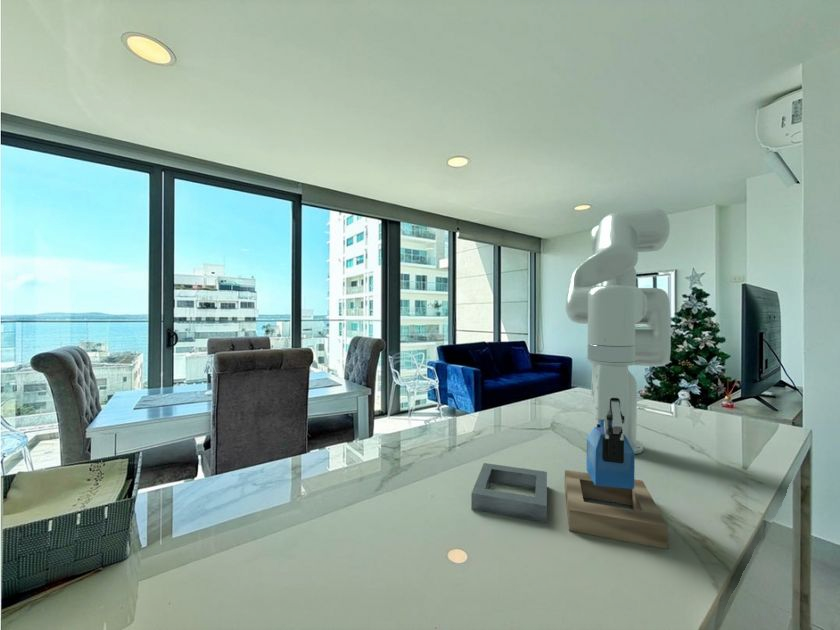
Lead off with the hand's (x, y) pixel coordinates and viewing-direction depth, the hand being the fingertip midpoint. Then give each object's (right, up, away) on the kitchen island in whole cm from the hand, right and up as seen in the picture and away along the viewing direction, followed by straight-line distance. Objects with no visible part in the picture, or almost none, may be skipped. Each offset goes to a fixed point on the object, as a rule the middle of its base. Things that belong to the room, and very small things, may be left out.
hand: (609, 452), depth 66 cm
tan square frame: (0, -11, 0) cm, 11 cm away
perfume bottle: (0, -5, 0) cm, 5 cm away
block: (-16, -11, +5) cm, 20 cm away
